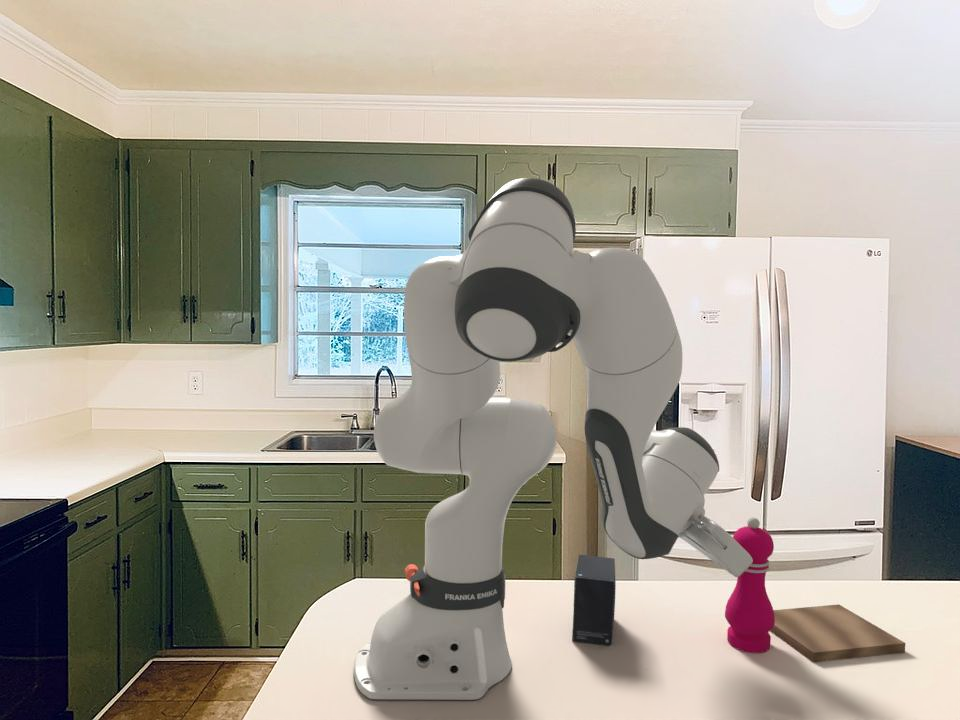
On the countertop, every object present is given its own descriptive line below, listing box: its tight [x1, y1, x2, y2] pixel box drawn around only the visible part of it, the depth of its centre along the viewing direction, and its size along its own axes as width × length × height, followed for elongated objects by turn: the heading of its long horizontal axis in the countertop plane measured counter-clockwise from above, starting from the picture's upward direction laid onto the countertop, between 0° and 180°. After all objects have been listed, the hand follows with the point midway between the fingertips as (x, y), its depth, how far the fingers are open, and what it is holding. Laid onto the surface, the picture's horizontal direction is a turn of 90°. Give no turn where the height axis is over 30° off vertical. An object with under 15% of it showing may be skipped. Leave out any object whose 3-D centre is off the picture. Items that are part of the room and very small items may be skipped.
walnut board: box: [769, 603, 906, 663], centre depth 109 cm, size 16×14×2 cm
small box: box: [571, 554, 617, 646], centre depth 110 cm, size 11×6×10 cm, turn 168°
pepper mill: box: [724, 517, 775, 654], centre depth 105 cm, size 7×7×20 cm
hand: (731, 567), depth 104 cm, fingers closed
